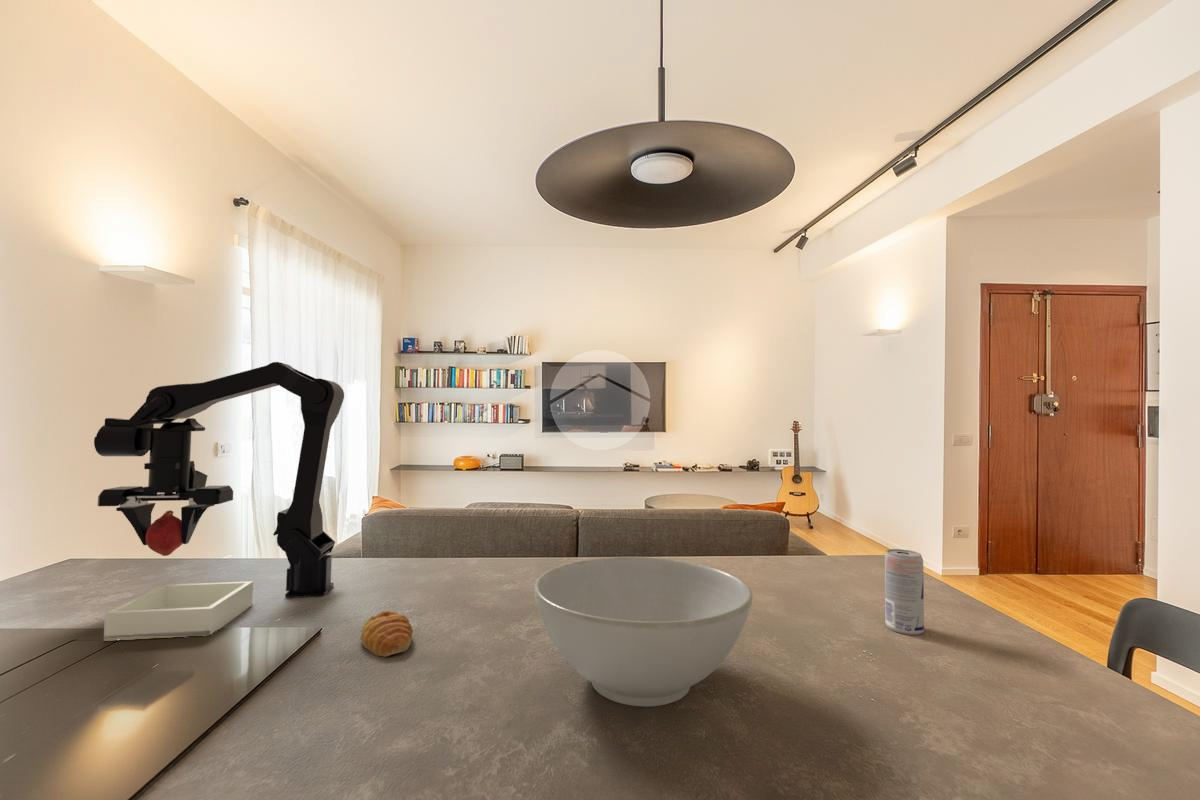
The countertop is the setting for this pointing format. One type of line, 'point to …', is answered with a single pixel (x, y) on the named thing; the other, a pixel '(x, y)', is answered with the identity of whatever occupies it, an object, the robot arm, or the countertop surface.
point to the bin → (180, 610)
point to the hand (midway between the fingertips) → (166, 544)
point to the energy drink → (904, 591)
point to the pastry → (387, 634)
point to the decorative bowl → (642, 623)
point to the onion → (165, 534)
